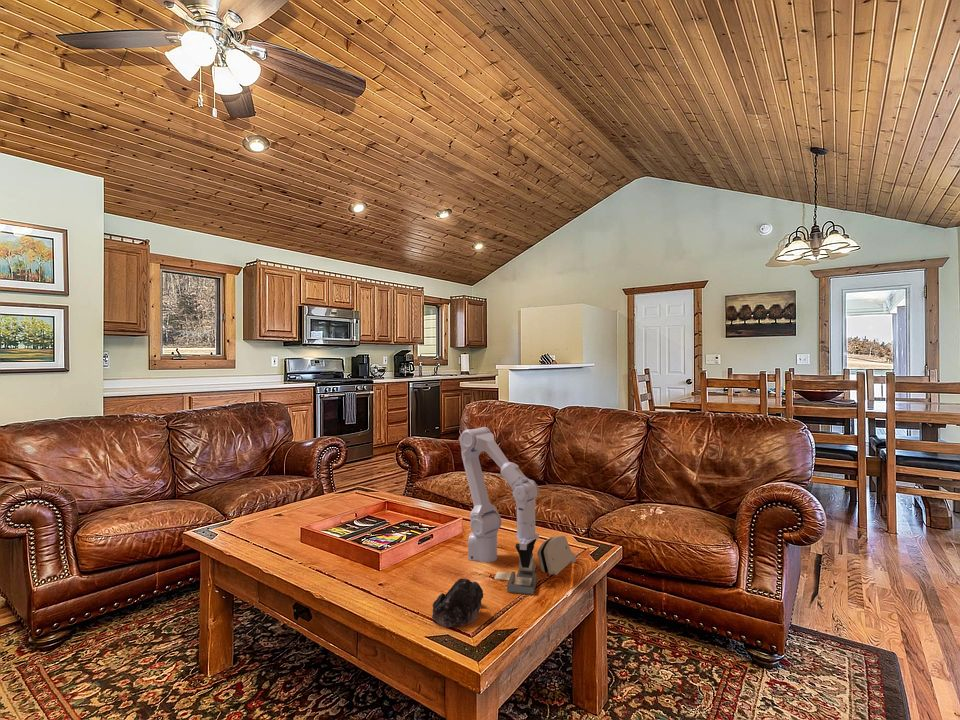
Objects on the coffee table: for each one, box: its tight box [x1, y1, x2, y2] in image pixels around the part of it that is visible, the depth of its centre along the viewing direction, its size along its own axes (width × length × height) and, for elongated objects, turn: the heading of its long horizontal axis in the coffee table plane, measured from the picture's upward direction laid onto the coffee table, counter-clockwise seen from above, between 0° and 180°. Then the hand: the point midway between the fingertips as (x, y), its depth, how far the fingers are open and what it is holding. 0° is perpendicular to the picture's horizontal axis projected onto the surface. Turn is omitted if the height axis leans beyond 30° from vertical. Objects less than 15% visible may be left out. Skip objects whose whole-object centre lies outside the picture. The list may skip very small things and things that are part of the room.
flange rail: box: [506, 563, 538, 596], centre depth 148 cm, size 8×19×3 cm, turn 167°
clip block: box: [518, 552, 535, 572], centre depth 153 cm, size 4×4×5 cm
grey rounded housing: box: [537, 535, 578, 576], centre depth 159 cm, size 17×5×10 cm, turn 147°
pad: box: [493, 571, 512, 581], centre depth 150 cm, size 5×5×1 cm
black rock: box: [431, 578, 484, 628], centre depth 129 cm, size 13×14×10 cm
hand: (526, 564), depth 153 cm, fingers closed on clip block, 4 cm apart
